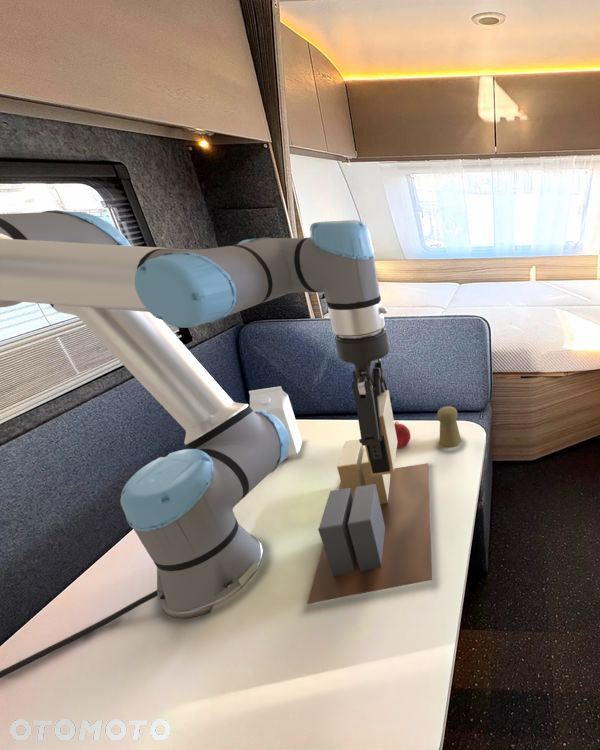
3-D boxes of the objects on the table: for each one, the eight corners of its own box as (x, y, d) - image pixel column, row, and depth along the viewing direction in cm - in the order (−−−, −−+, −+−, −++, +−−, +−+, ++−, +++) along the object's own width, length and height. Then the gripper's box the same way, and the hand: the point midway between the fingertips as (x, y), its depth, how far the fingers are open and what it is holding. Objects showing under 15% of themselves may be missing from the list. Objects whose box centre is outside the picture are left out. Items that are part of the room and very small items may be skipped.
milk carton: (274, 447, 104) (252, 385, 96) (302, 442, 106) (283, 380, 98) (268, 463, 98) (244, 397, 90) (298, 457, 99) (278, 392, 91)
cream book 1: (348, 509, 81) (337, 467, 76) (354, 480, 89) (344, 441, 84) (366, 506, 81) (355, 464, 76) (370, 478, 89) (362, 438, 85)
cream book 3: (370, 505, 81) (360, 463, 77) (374, 477, 89) (366, 438, 85) (388, 502, 82) (379, 461, 77) (390, 475, 90) (383, 435, 85)
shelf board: (308, 608, 62) (306, 603, 62) (343, 479, 91) (342, 475, 90) (432, 584, 66) (432, 579, 65) (428, 467, 94) (428, 463, 94)
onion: (416, 445, 103) (412, 419, 99) (401, 456, 98) (396, 430, 95) (401, 439, 106) (396, 413, 102) (385, 450, 101) (380, 424, 98)
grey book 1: (333, 576, 66) (318, 529, 62) (342, 534, 74) (329, 490, 70) (354, 572, 67) (341, 525, 62) (361, 531, 75) (350, 487, 70)
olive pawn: (458, 452, 99) (454, 416, 94) (436, 450, 100) (431, 414, 95) (464, 439, 104) (461, 404, 100) (443, 437, 105) (439, 402, 101)
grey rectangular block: (360, 571, 67) (347, 524, 62) (366, 530, 75) (355, 486, 70) (381, 567, 68) (370, 520, 63) (385, 527, 76) (375, 483, 71)
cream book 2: (371, 476, 64) (359, 419, 59) (378, 444, 72) (367, 392, 67) (394, 473, 64) (383, 416, 59) (397, 441, 72) (388, 390, 68)
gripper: (377, 355, 49) (402, 492, 58) (392, 310, 68) (409, 418, 78) (315, 361, 48) (351, 500, 57) (348, 313, 67) (370, 422, 77)
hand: (384, 453), depth 67 cm, fingers closed on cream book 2, 9 cm apart
